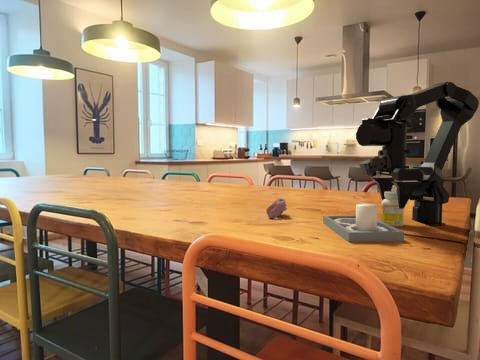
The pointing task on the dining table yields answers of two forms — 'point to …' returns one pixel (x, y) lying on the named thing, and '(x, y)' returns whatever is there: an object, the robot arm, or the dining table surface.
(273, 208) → the video game controller
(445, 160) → the robot arm
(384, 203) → the supplement bottle
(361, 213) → the jaw peg
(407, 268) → the dining table surface
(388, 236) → the tray
